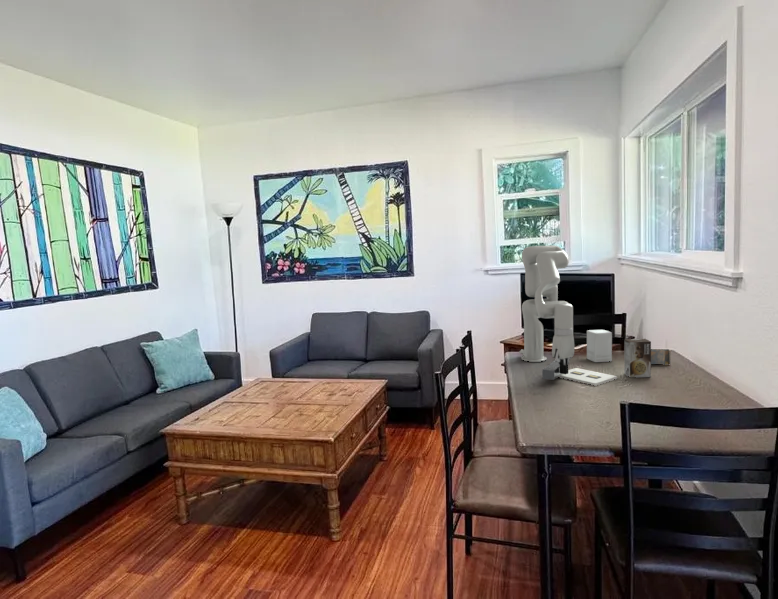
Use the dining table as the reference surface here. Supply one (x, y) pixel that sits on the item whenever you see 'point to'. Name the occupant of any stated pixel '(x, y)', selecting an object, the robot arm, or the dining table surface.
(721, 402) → the dining table surface
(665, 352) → the blue grey rectangular box
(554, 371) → the swing bar
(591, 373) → the label board
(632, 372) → the coffee box
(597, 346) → the supplement box
